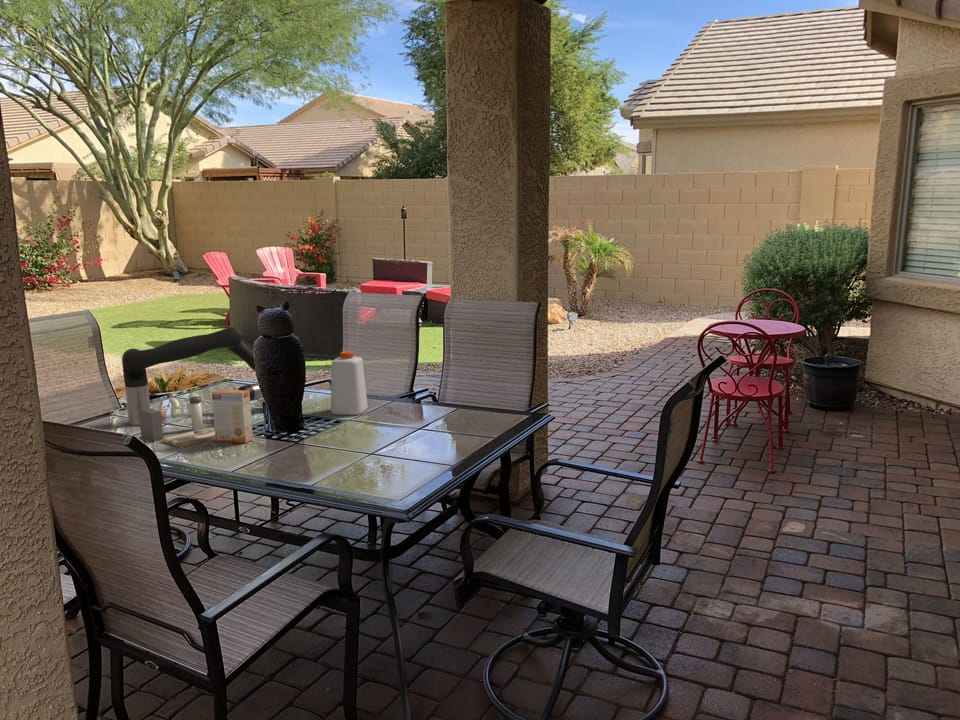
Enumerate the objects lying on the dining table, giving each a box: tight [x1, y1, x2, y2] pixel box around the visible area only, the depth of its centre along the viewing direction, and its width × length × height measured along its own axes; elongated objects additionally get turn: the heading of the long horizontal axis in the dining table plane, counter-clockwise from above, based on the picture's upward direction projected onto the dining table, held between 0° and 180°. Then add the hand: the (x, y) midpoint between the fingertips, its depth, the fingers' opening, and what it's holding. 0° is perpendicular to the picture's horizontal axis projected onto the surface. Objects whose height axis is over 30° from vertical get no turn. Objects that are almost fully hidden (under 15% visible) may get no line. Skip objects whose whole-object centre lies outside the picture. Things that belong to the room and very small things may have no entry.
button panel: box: [139, 407, 164, 442], centre depth 309 cm, size 10×4×12 cm, turn 52°
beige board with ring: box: [162, 426, 216, 448], centre depth 308 cm, size 14×20×2 cm
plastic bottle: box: [330, 350, 369, 416], centre depth 346 cm, size 15×15×28 cm
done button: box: [157, 409, 166, 421], centre depth 311 cm, size 4×2×4 cm, turn 52°
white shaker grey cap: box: [189, 395, 204, 431], centre depth 321 cm, size 5×5×14 cm
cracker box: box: [211, 388, 254, 444], centre depth 303 cm, size 14×6×21 cm, turn 74°
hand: (219, 400), depth 330 cm, fingers open, 8 cm apart
